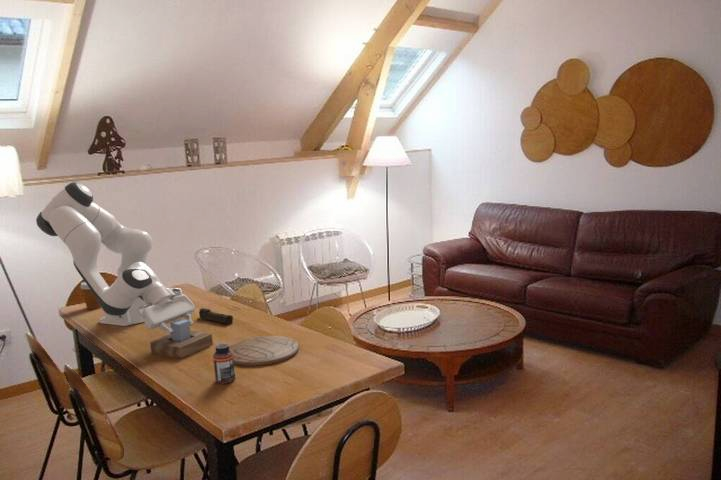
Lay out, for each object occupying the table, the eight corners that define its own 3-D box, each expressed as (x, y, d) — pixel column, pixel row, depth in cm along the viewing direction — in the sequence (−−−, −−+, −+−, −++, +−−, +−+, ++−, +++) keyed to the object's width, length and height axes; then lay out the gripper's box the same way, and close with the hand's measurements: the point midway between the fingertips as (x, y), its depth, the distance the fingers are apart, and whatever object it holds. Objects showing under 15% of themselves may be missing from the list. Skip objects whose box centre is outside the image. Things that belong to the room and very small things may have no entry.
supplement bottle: (217, 377, 184) (213, 342, 182) (236, 375, 185) (233, 341, 183) (214, 385, 178) (210, 349, 176) (234, 383, 179) (230, 348, 177)
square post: (173, 349, 211) (170, 323, 209) (182, 345, 215) (180, 319, 213) (182, 351, 209) (179, 324, 207) (191, 347, 212) (189, 320, 211)
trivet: (262, 336, 221) (261, 331, 221) (313, 347, 207) (313, 342, 206) (210, 358, 201) (209, 353, 201) (262, 373, 187) (262, 367, 186)
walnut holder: (151, 352, 209) (150, 341, 208) (183, 339, 222) (182, 328, 221) (181, 358, 202) (180, 347, 201) (212, 344, 214) (211, 333, 214)
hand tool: (234, 323, 238) (233, 312, 237) (226, 326, 235) (225, 315, 234) (205, 316, 250) (204, 306, 249) (197, 319, 247) (196, 308, 246)
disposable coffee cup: (100, 310, 266) (96, 284, 264) (79, 311, 266) (75, 285, 264) (109, 304, 276) (106, 279, 273) (89, 305, 276) (85, 280, 274)
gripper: (139, 302, 203) (162, 333, 200) (184, 287, 220) (205, 315, 217) (132, 313, 206) (154, 343, 203) (176, 297, 223) (198, 325, 220)
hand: (181, 329), depth 210 cm, fingers open, 8 cm apart
